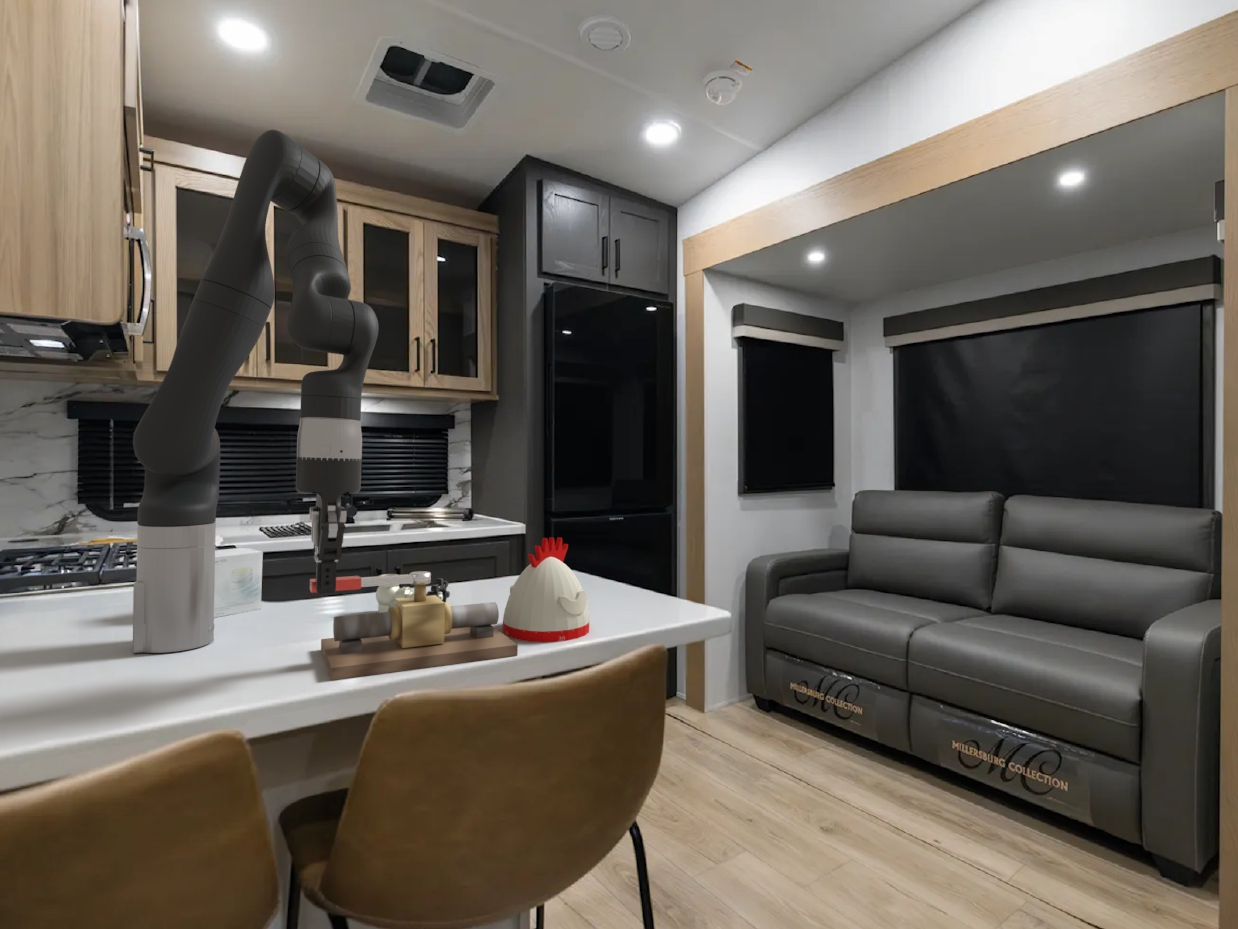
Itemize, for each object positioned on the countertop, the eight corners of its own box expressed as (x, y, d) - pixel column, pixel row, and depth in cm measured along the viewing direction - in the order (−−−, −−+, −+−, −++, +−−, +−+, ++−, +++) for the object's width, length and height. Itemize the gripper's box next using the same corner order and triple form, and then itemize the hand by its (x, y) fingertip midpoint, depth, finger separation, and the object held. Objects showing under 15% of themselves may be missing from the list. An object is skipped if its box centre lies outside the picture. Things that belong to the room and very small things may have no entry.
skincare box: (199, 621, 106) (200, 557, 106) (179, 615, 109) (180, 553, 109) (263, 609, 115) (264, 550, 115) (242, 604, 118) (243, 546, 118)
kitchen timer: (606, 630, 107) (608, 538, 106) (545, 648, 96) (548, 545, 96) (546, 615, 115) (548, 530, 115) (484, 630, 105) (486, 536, 105)
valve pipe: (331, 680, 80) (332, 602, 80) (321, 649, 92) (322, 582, 92) (517, 655, 92) (518, 587, 92) (486, 631, 104) (487, 571, 104)
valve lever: (427, 580, 94) (428, 570, 94) (432, 584, 91) (433, 573, 91) (309, 589, 86) (309, 578, 86) (311, 593, 84) (311, 582, 84)
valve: (367, 617, 112) (433, 621, 110) (367, 578, 112) (434, 582, 110) (386, 608, 118) (449, 612, 116) (387, 571, 118) (450, 575, 116)
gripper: (369, 456, 79) (365, 600, 79) (353, 456, 90) (349, 581, 91) (300, 454, 75) (296, 605, 75) (293, 454, 87) (289, 584, 87)
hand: (325, 592), depth 83 cm, fingers closed
